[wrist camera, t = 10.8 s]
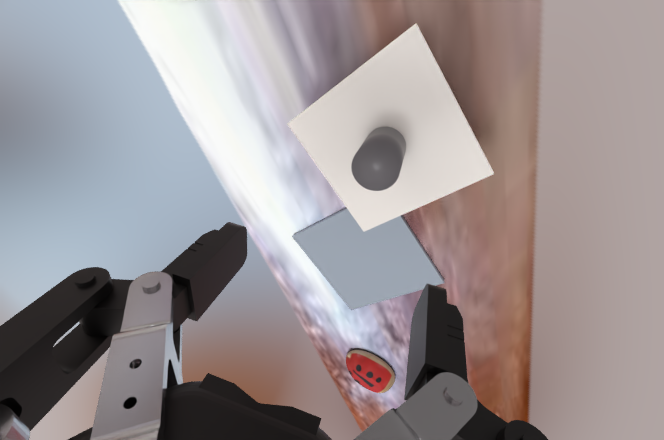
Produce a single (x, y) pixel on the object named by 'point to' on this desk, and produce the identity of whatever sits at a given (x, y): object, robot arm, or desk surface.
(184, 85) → the desk surface
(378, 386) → the ladybug figurine
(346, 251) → the mat
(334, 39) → the desk surface
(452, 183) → the lid
